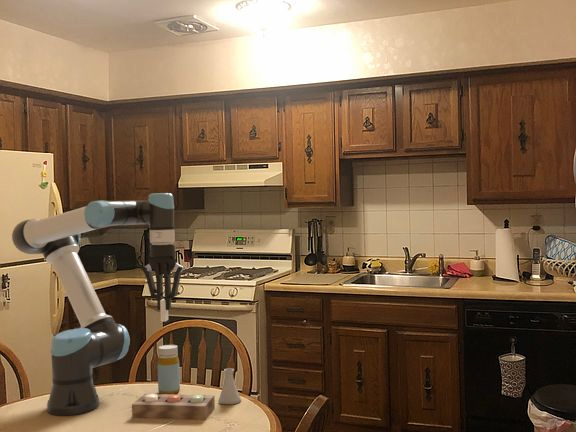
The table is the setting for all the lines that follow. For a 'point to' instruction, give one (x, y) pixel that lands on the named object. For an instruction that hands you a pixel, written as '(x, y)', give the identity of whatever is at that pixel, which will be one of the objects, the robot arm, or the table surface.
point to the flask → (229, 389)
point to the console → (173, 408)
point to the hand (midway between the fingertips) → (164, 320)
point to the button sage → (196, 399)
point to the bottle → (168, 370)
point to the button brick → (173, 398)
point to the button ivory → (151, 398)
